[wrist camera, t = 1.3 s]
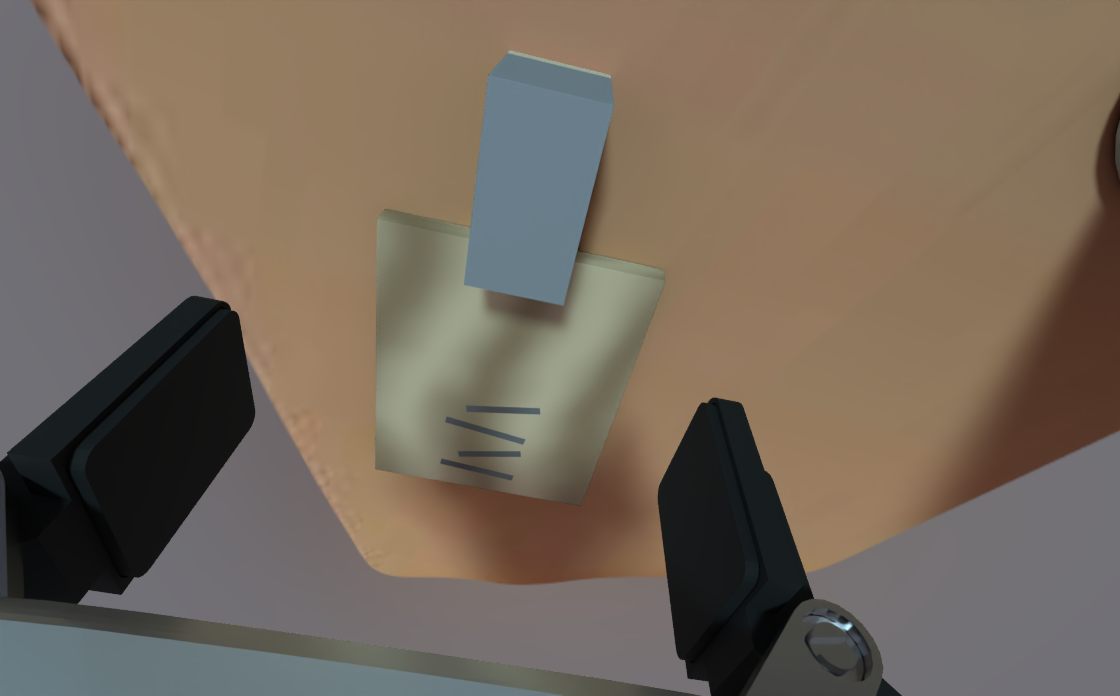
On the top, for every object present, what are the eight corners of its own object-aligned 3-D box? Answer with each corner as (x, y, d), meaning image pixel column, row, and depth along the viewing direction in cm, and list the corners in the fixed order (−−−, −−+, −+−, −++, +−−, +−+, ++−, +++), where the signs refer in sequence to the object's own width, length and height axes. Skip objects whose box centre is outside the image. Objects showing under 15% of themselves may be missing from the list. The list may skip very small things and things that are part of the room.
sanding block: (610, 74, 22) (613, 105, 18) (568, 247, 27) (563, 305, 22) (510, 49, 22) (488, 74, 17) (485, 229, 27) (463, 285, 22)
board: (663, 269, 27) (665, 281, 26) (581, 491, 38) (581, 506, 37) (385, 209, 26) (377, 219, 25) (381, 455, 37) (375, 469, 36)
